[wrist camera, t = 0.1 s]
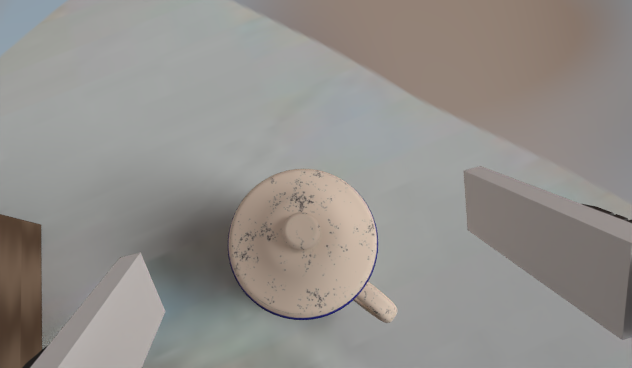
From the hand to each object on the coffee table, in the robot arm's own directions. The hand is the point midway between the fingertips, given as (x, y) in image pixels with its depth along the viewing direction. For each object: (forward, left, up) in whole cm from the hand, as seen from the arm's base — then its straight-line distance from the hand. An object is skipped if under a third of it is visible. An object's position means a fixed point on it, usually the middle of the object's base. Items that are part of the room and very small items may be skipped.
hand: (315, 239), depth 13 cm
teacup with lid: (0, 0, -16) cm, 16 cm away
